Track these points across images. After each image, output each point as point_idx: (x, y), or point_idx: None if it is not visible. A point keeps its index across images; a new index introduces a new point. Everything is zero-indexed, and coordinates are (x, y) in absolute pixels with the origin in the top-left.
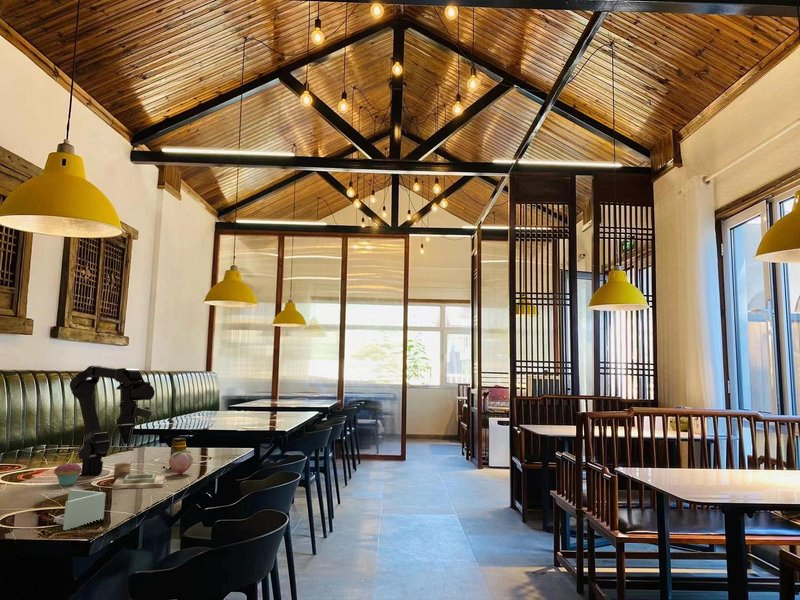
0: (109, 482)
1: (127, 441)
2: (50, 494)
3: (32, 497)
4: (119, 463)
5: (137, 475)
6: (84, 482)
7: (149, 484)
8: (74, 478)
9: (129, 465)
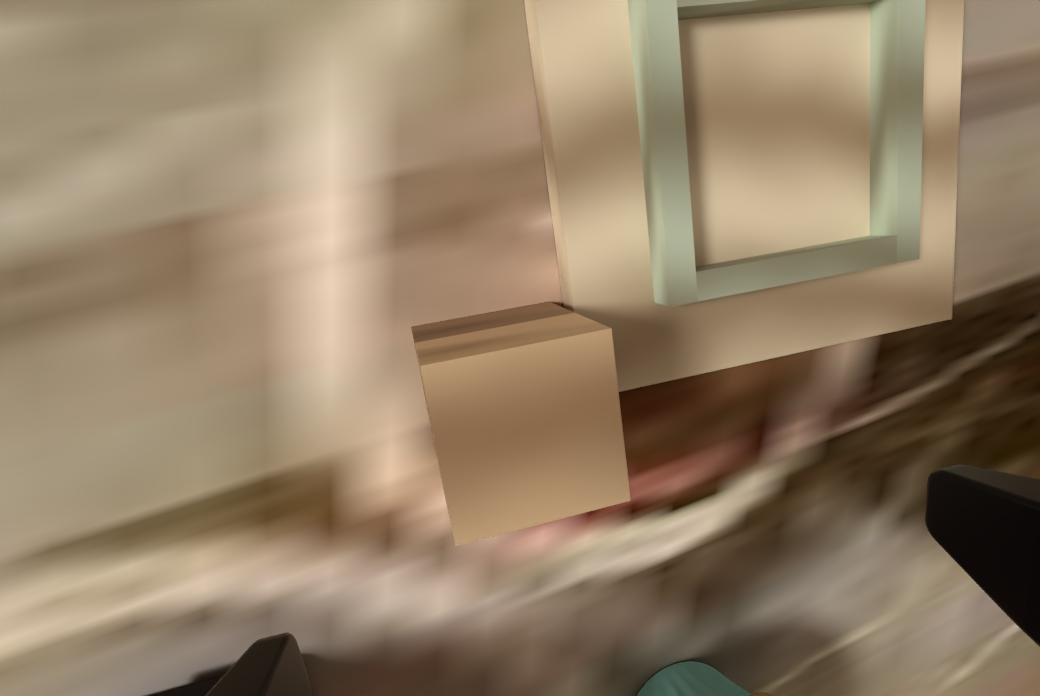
0: (655, 430)
1: (1020, 495)
2: (981, 629)
3: (1029, 676)
4: (602, 459)
5: (685, 188)
6: (631, 619)
7: (960, 8)
8: (735, 687)
9: (600, 326)
